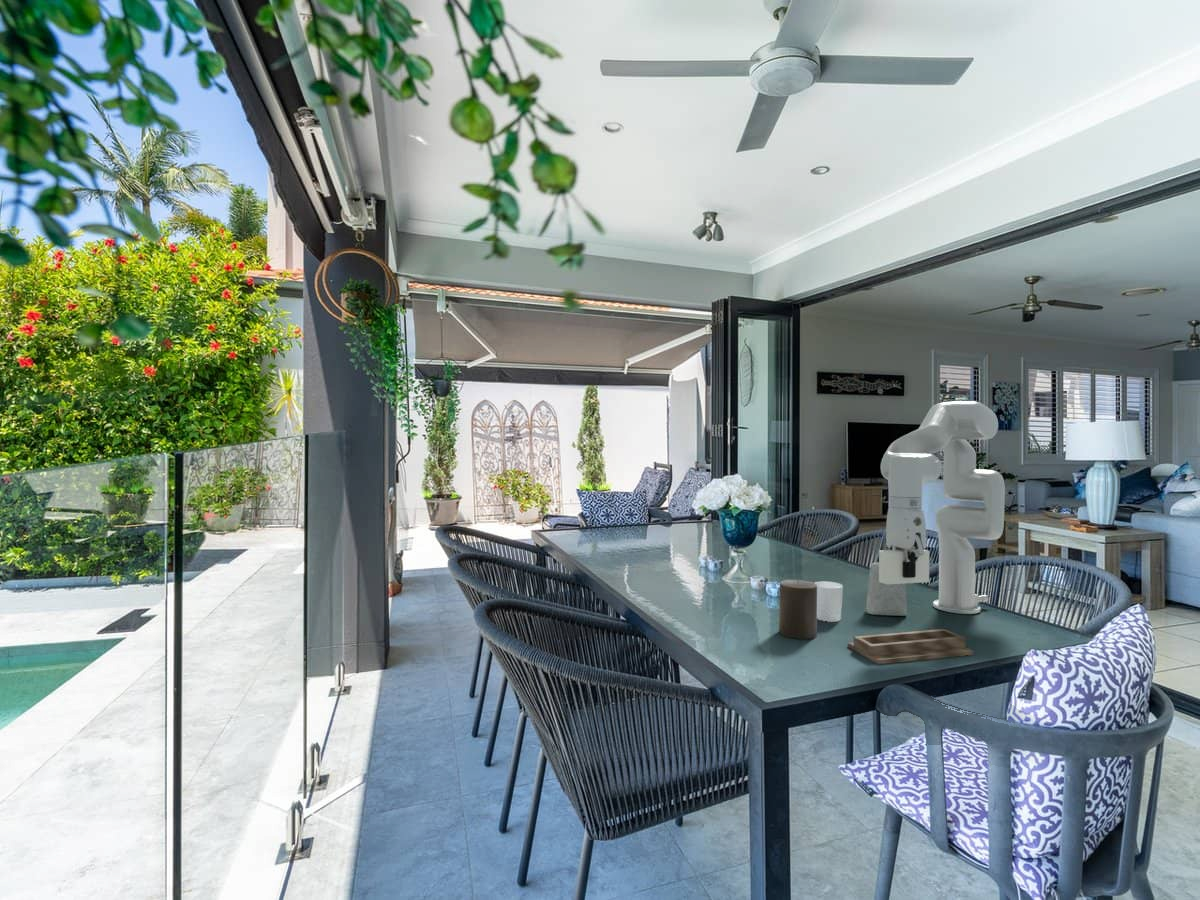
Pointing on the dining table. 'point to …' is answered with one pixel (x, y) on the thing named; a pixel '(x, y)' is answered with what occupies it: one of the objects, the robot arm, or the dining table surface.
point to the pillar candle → (798, 609)
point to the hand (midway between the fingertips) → (904, 575)
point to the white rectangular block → (901, 567)
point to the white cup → (829, 601)
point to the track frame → (910, 646)
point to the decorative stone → (885, 595)
